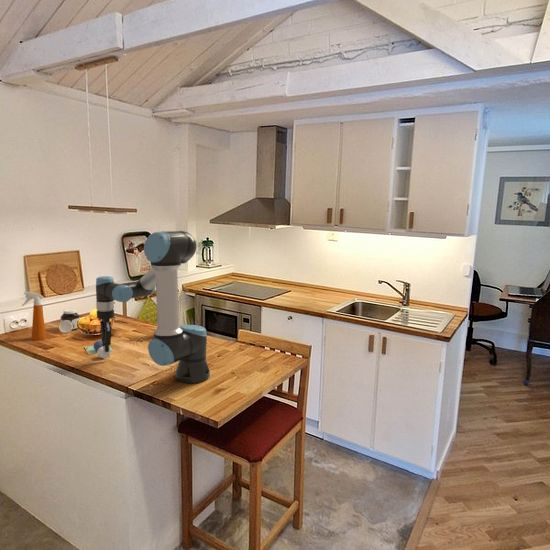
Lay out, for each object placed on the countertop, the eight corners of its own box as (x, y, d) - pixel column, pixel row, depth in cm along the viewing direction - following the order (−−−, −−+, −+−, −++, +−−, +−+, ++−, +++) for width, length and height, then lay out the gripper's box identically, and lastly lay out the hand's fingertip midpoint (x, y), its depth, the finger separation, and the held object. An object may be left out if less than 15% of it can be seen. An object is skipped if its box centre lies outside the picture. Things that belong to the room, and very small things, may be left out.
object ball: (106, 340, 207) (103, 339, 212) (94, 342, 204) (92, 340, 209) (106, 351, 207) (104, 349, 212) (95, 353, 204) (92, 351, 209)
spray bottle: (23, 338, 222) (20, 290, 218) (45, 335, 228) (43, 289, 224) (23, 342, 216) (21, 293, 212) (47, 339, 222) (45, 291, 218)
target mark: (113, 351, 210) (113, 350, 210) (87, 354, 203) (87, 354, 203) (108, 344, 219) (108, 343, 219) (83, 347, 213) (83, 347, 213)
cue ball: (107, 343, 202) (107, 353, 204) (95, 345, 199) (95, 355, 201) (110, 349, 198) (110, 359, 200) (98, 351, 195) (98, 361, 197)
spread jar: (78, 326, 247) (77, 307, 246) (83, 331, 239) (82, 311, 237) (55, 329, 240) (55, 310, 238) (60, 334, 231) (59, 314, 229)
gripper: (117, 311, 188) (118, 360, 192) (110, 305, 199) (111, 352, 203) (99, 313, 184) (100, 363, 188) (94, 307, 195) (95, 354, 199)
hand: (106, 357), depth 195 cm, fingers closed
